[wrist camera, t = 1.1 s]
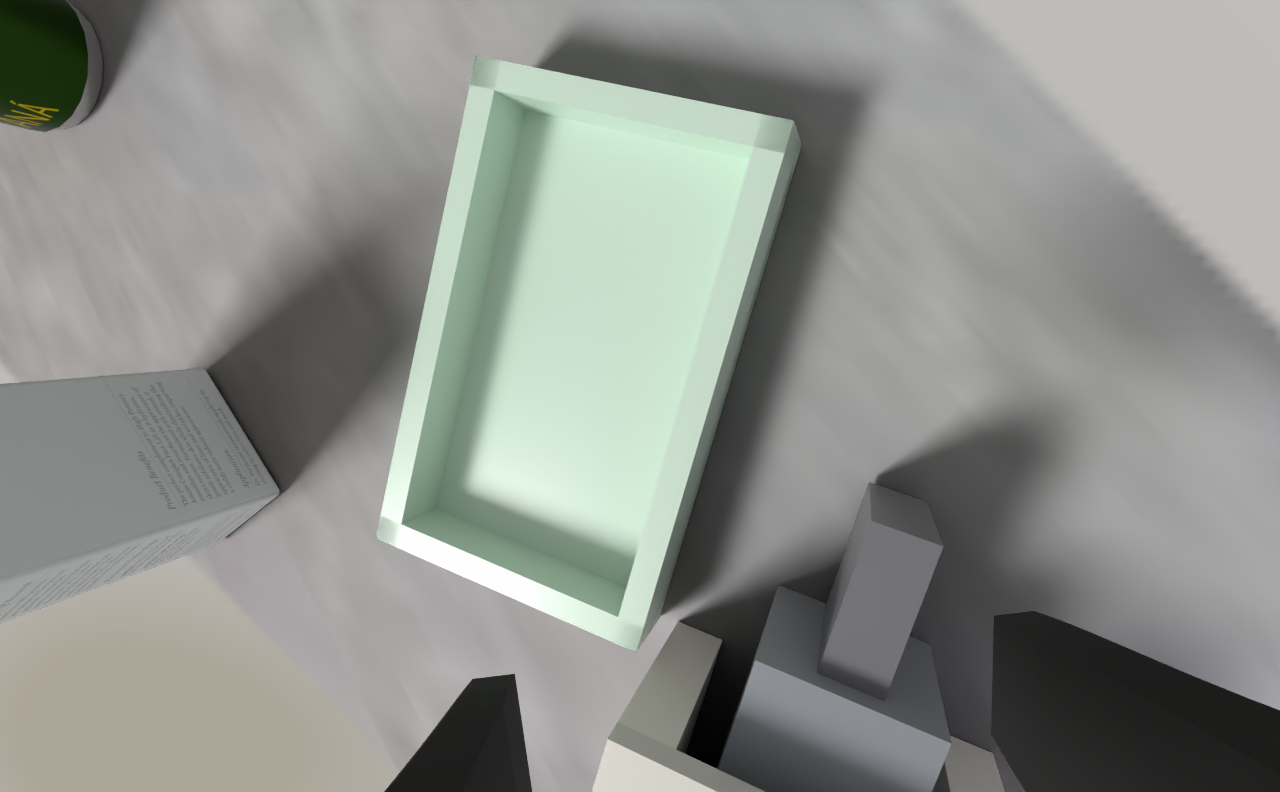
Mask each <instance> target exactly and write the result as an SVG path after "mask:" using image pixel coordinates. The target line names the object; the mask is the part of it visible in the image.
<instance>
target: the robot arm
mask: <svg viewBox="0 0 1280 792" xmlns="http://www.w3.org/2000/svg"><path fill="white" fill-rule="evenodd" d="M991 734H992V736H993V738H994V740H995V741H996V743H997V745H998V746H999V748H1000V750H1001V752H1002V753H1003V755H1004V757H1005V758H1006V760H1007V762H1008V763H1009V765H1010V767H1011V769H1012V770H1013V772H1014V774H1015V775H1016V777H1017V778H1018V780H1019V781H1020V783H1021V785H1022V786H1023V788H1024V789H1025V791H1026V792H1280V710H1277V709H1274V708H1272V707H1269V706H1267V705H1264V704H1261V703H1259V702H1256V701H1253V700H1251V699H1248V698H1246V697H1243V696H1241V695H1238V694H1236V693H1233V692H1231V691H1228V690H1226V689H1223V688H1221V687H1218V686H1216V685H1213V684H1211V683H1208V682H1206V681H1204V680H1201V679H1199V678H1196V677H1194V676H1192V675H1189V674H1187V673H1184V672H1182V671H1180V670H1177V669H1175V668H1173V667H1170V666H1168V665H1165V664H1163V663H1161V662H1158V661H1156V660H1154V659H1151V658H1149V657H1147V656H1144V655H1142V654H1140V653H1137V652H1135V651H1133V650H1130V649H1128V648H1126V647H1123V646H1121V645H1119V644H1116V643H1114V642H1112V641H1109V640H1107V639H1105V638H1102V637H1100V636H1097V635H1095V634H1093V633H1090V632H1088V631H1085V630H1083V629H1081V628H1078V627H1076V626H1073V625H1071V624H1068V623H1066V622H1063V621H1061V620H1058V619H1055V618H1052V617H1050V616H1047V615H1044V614H1041V613H1038V612H1035V611H1030V612H1022V613H1014V614H1006V615H997V616H994V642H993V684H992V727H991ZM385 792H532V788H531V781H530V775H529V768H528V761H527V754H526V748H525V741H524V734H523V727H522V721H521V714H520V707H519V700H518V694H517V687H516V680H515V674H510V675H502V676H494V677H485V678H477V679H472V681H471V682H470V683H469V684H468V685H467V687H466V688H465V689H464V690H463V692H462V693H461V694H460V695H459V697H458V698H457V699H456V701H455V702H454V703H453V705H452V706H451V707H450V709H449V710H448V711H447V713H446V714H445V715H444V717H443V718H442V719H441V721H440V722H439V723H438V725H437V726H436V727H435V729H434V730H433V731H432V733H431V734H430V735H429V736H428V738H427V739H426V740H425V742H424V743H423V744H422V746H421V747H420V748H419V749H418V751H417V752H416V753H415V754H414V756H413V757H412V758H411V759H410V761H409V762H408V763H407V764H406V766H405V767H404V768H403V769H402V771H401V772H400V773H399V774H398V776H397V777H396V778H395V779H394V781H393V782H392V783H391V784H390V785H389V787H388V788H387V789H386V791H385Z"/></svg>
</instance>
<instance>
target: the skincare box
mask: <svg viewBox="0 0 1280 792" xmlns="http://www.w3.org/2000/svg"><path fill="white" fill-rule="evenodd" d="M278 495H279V489H278V487H277V485H276V483H275V482H274V480H273V479H272V477H271V475H270V474H269V472H268V471H267V469H266V467H265V466H264V464H263V462H262V461H261V459H260V458H259V456H258V454H257V453H256V451H255V449H254V448H253V446H252V445H251V443H250V441H249V440H248V438H247V436H246V435H245V433H244V432H243V430H242V428H241V427H240V425H239V423H238V422H237V420H236V419H235V417H234V415H233V414H232V412H231V410H230V409H229V407H228V406H227V404H226V402H225V401H224V399H223V397H222V396H221V394H220V393H219V391H218V389H217V388H216V386H215V384H214V383H213V381H212V380H211V378H210V376H209V375H208V373H207V372H206V370H205V369H202V368H198V369H187V370H174V371H163V372H148V373H137V374H122V375H111V376H98V377H86V378H73V379H60V380H47V381H34V382H21V383H8V384H0V623H3V622H6V621H8V620H11V619H13V618H16V617H19V616H22V615H25V614H27V613H30V612H32V611H35V610H38V609H41V608H43V607H46V606H49V605H52V604H54V603H57V602H60V601H63V600H66V599H68V598H71V597H74V596H77V595H80V594H82V593H85V592H88V591H90V590H93V589H96V588H99V587H101V586H104V585H107V584H110V583H113V582H115V581H118V580H121V579H124V578H126V577H129V576H132V575H134V574H137V573H140V572H142V571H145V570H148V569H151V568H153V567H156V566H159V565H162V564H164V563H167V562H170V561H172V560H175V559H178V558H180V557H183V556H186V555H189V554H191V553H194V552H197V551H199V550H202V549H205V548H208V547H211V546H214V545H216V544H218V543H219V542H220V541H221V540H223V539H224V538H225V537H227V536H228V535H229V534H230V533H231V532H233V531H234V530H236V529H237V528H238V527H239V526H241V525H242V524H243V523H244V522H246V521H247V520H248V519H249V518H251V517H252V516H253V515H254V514H256V513H257V512H258V511H259V510H261V509H262V508H263V507H264V506H265V505H266V504H268V503H269V502H270V501H272V500H273V499H274V498H276V497H277V496H278Z"/></svg>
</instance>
